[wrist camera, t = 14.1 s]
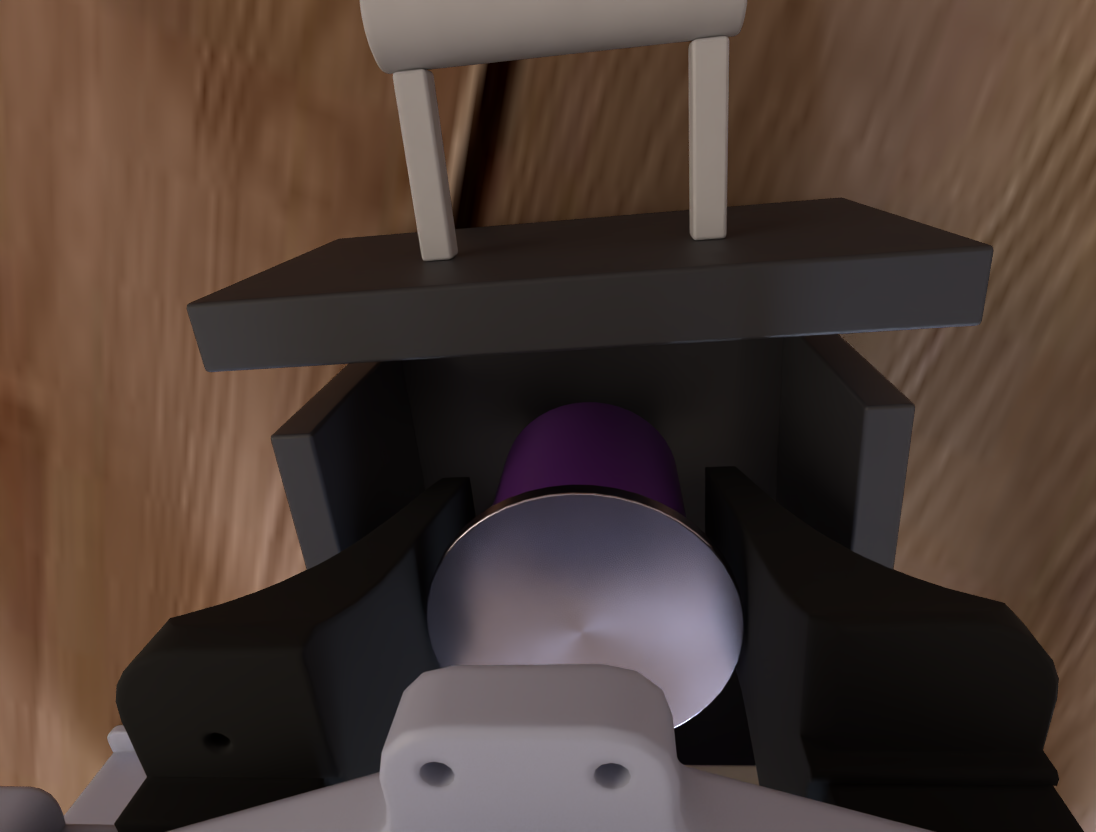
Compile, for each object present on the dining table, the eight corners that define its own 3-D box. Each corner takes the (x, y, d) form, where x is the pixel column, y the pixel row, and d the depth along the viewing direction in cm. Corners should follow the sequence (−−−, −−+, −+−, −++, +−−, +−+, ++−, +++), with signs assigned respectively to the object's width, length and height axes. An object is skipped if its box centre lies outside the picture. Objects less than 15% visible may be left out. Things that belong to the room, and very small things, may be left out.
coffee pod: (464, 382, 15) (400, 499, 10) (704, 368, 14) (750, 486, 10) (493, 575, 17) (449, 746, 12) (703, 570, 16) (741, 748, 12)
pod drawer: (292, 22, 15) (75, -46, 9) (863, -46, 14) (1069, -182, 8) (417, 628, 22) (343, 826, 16) (810, 622, 21) (897, 836, 14)
